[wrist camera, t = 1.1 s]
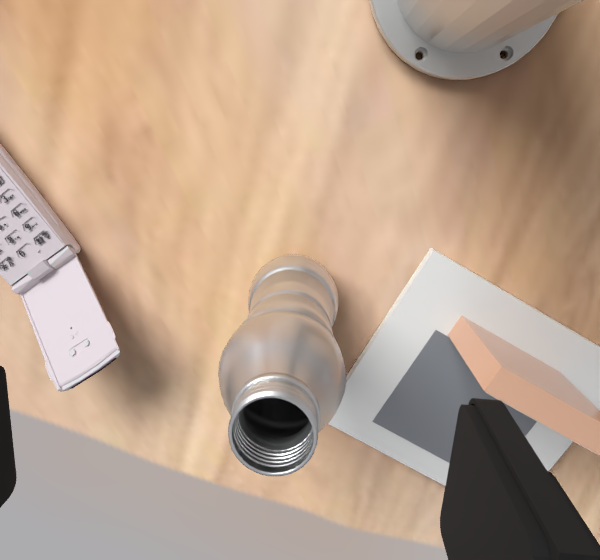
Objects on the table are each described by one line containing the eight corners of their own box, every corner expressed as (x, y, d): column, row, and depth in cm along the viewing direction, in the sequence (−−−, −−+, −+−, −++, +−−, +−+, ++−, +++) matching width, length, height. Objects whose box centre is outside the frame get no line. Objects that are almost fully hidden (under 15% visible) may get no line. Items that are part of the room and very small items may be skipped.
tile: (461, 315, 39) (502, 366, 30) (560, 372, 40) (627, 437, 31) (446, 336, 39) (482, 393, 31) (544, 391, 40) (606, 462, 32)
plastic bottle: (330, 241, 39) (341, 345, 19) (343, 326, 40) (364, 499, 21) (245, 254, 39) (174, 368, 20) (261, 337, 41) (210, 516, 22)
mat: (430, 247, 39) (433, 250, 38) (626, 362, 40) (634, 367, 39) (321, 413, 43) (321, 420, 42) (504, 511, 44) (508, 520, 43)
